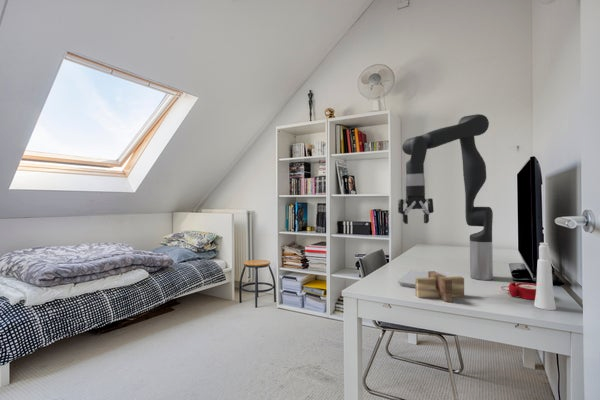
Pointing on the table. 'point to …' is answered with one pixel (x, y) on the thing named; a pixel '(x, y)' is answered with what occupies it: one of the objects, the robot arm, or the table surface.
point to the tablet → (413, 278)
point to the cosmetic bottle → (544, 280)
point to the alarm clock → (522, 290)
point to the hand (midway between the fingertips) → (415, 223)
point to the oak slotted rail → (428, 288)
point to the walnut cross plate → (442, 286)
